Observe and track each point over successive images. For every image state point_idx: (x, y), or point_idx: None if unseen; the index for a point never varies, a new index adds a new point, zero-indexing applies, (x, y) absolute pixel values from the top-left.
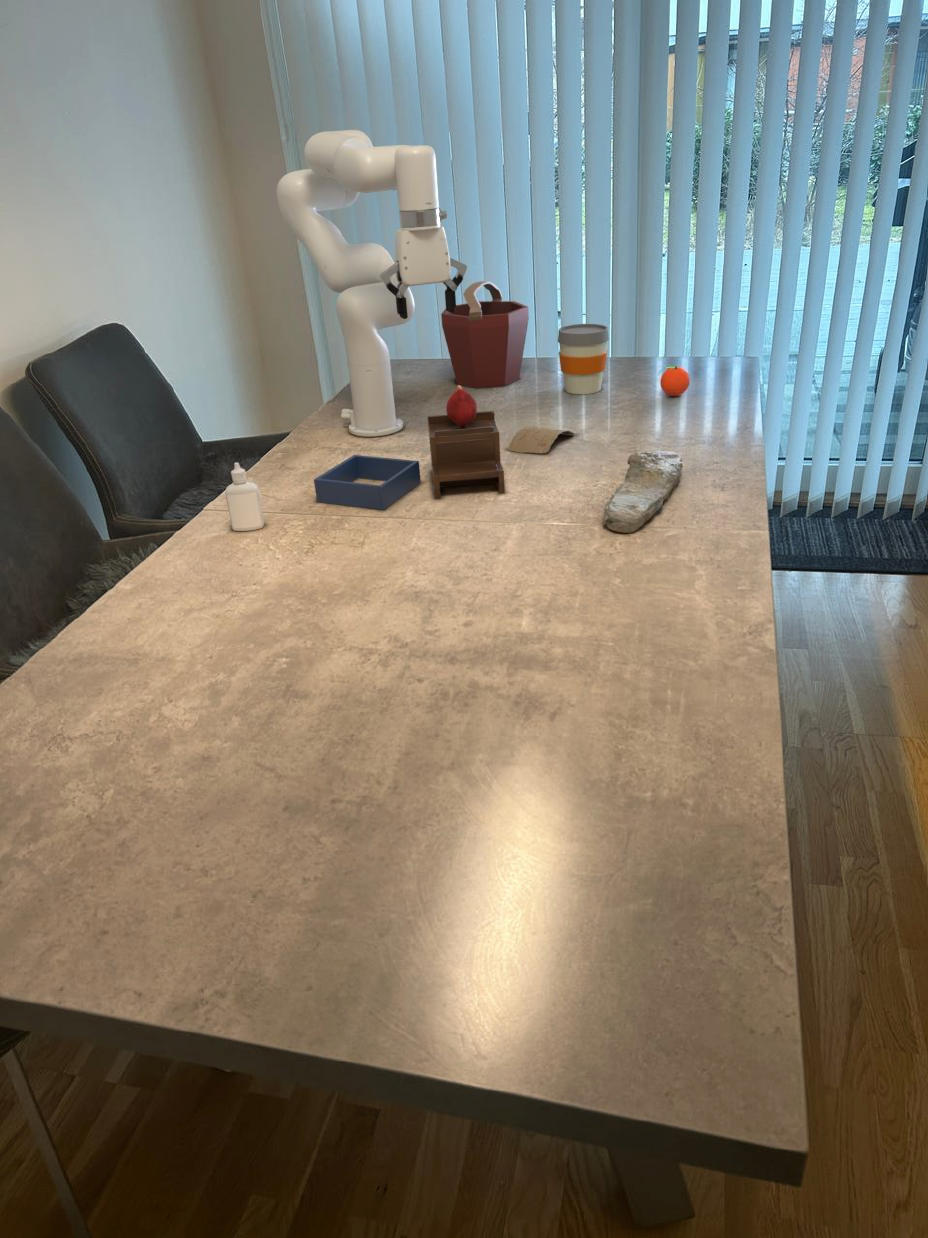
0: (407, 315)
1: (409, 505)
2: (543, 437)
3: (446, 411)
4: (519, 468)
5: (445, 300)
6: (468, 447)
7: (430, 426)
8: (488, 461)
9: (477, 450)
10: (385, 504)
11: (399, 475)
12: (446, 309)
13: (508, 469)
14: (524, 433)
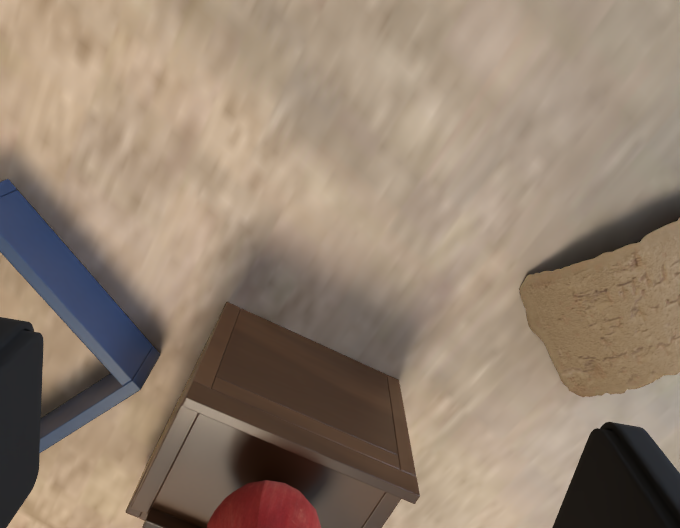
0: (22, 501)
1: (72, 462)
2: (624, 351)
3: (209, 520)
4: (440, 424)
5: (648, 505)
6: None
7: (184, 414)
8: None
9: None
10: None
11: (46, 448)
12: (593, 443)
13: (412, 413)
14: (610, 286)
